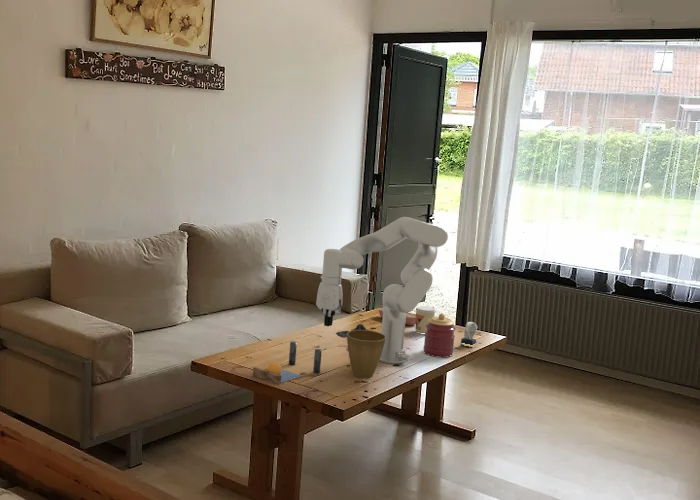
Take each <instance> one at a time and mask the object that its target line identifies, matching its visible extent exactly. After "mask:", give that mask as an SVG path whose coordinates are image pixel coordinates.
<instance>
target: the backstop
mask: <svg viewBox="0 0 700 500" xmlns="http://www.w3.org/2000/svg"><path fill="white" fill-rule="evenodd" d="M253 375H255V376H254V377H256V376H258V377H257V378H259V377H261V378H260V379H262V378H263V379H262V380H265V379H266V380H265V381H267V380H269V381H268V382H270V381H271V383H273V382H274V384H276V385H281V384H282V383H281V376H280V375H277V374H274V373H271V372H268V371H267V370H264V369H263V368H262V369H261V368H259V367H257V366H254V367H253V369H252V376H253Z"/></svg>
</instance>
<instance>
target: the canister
mask: <svg viewBox="0 0 700 500" xmlns="http://www.w3.org/2000/svg"><path fill="white" fill-rule="evenodd" d="M428 322H429V323H428V324H426V328H427V329H426V332H425V335H424V344H423V352H425V353H424V354H426V355H428V354H429V355H428V356H431V355H433V356H432V357H436V356H441V357H440V358H444V357H443V356H449V357H451V356H450V355H452V356H453V353H454V349H455V348H454V344H455V343H454V342H455V335H456V334H455V331H456V327H455V326H454V325H455V322H454V321H453V320H452V319H451V318H449V317H445V314H444V313H440V314H438V316H434V317H432V318H431V319H429V320H428Z"/></svg>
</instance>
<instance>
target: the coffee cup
mask: <svg viewBox="0 0 700 500" xmlns="http://www.w3.org/2000/svg"><path fill="white" fill-rule="evenodd" d="M415 314H416V323H415V333H416V332H419V333H425V332H426V329H427V328H426V324H428V323H429V322H428V320H429V319H431V318H432V317H436V316H435V314H436V309H435V308H434V307H432V306H426V305H425V306H424V305H419V306H418V305H417V306H416V307H415Z"/></svg>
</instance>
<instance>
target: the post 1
mask: <svg viewBox="0 0 700 500" xmlns="http://www.w3.org/2000/svg"><path fill="white" fill-rule="evenodd" d="M297 344H298V343H297V341H295V340H294V341H293V340H292V341H290V342H289V352H288V353H289V355H288V365H289V366H295V365H296V363H297V362H296V358H297Z"/></svg>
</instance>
